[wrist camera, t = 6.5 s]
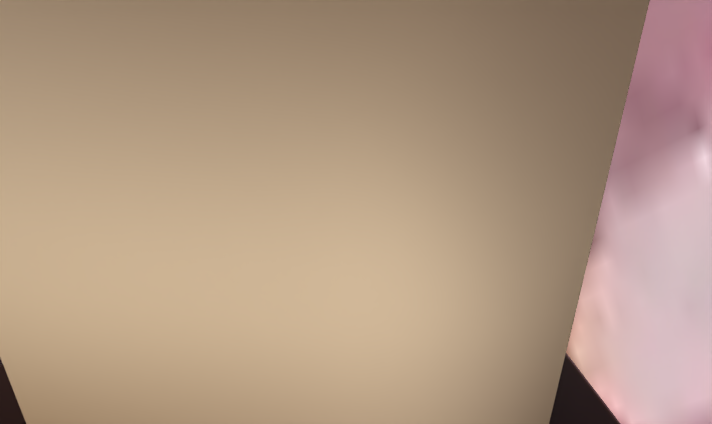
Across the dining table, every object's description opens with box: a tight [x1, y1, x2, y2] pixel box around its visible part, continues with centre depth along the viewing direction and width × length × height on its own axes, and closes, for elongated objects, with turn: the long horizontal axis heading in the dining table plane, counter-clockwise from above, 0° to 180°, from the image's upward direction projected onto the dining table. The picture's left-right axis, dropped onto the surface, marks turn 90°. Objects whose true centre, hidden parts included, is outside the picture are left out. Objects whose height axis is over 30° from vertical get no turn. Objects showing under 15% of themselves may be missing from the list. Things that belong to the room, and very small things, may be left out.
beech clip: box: [0, 0, 650, 424], centre depth 9 cm, size 12×4×6 cm, turn 0°
